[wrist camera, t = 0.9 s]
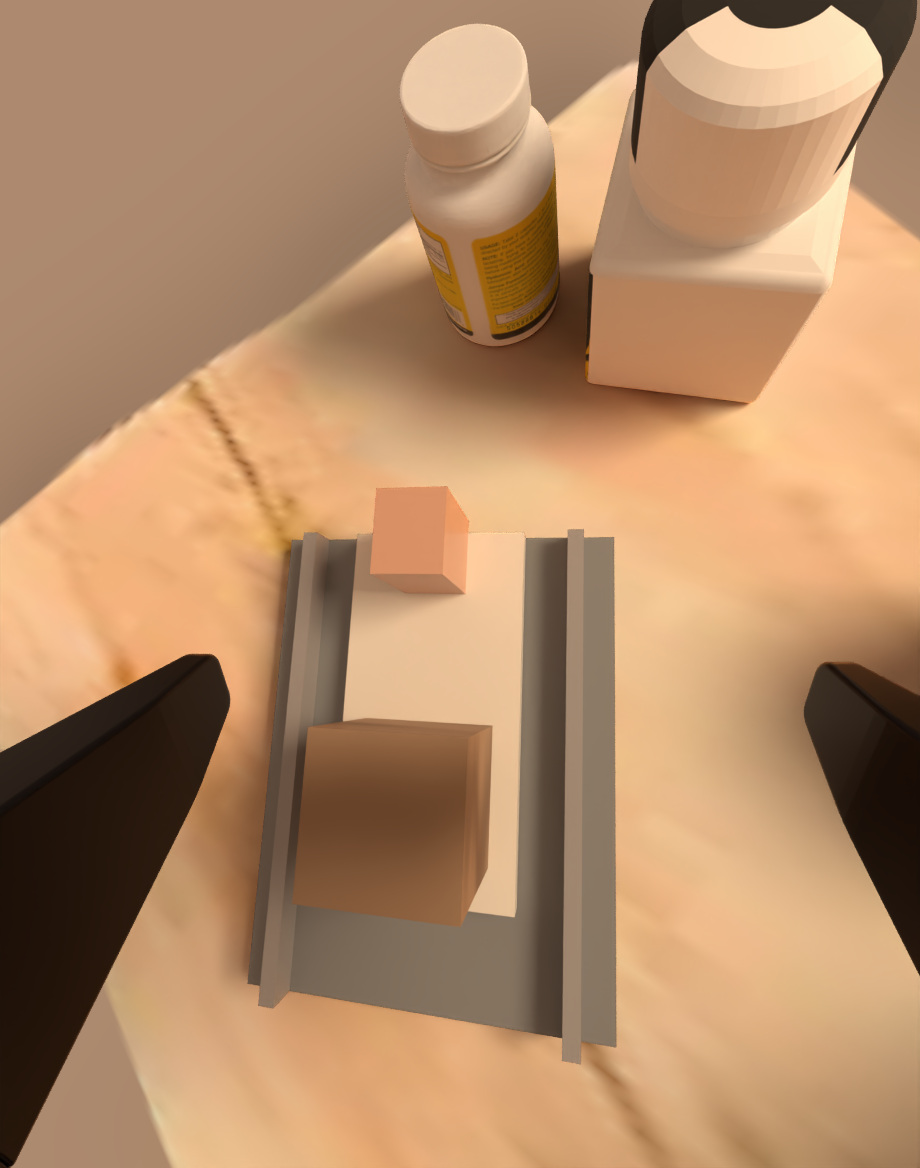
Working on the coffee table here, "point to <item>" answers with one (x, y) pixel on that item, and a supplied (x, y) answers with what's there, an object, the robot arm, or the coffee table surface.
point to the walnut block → (394, 818)
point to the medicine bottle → (732, 187)
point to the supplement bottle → (482, 183)
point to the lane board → (546, 820)
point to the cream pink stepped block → (444, 645)
